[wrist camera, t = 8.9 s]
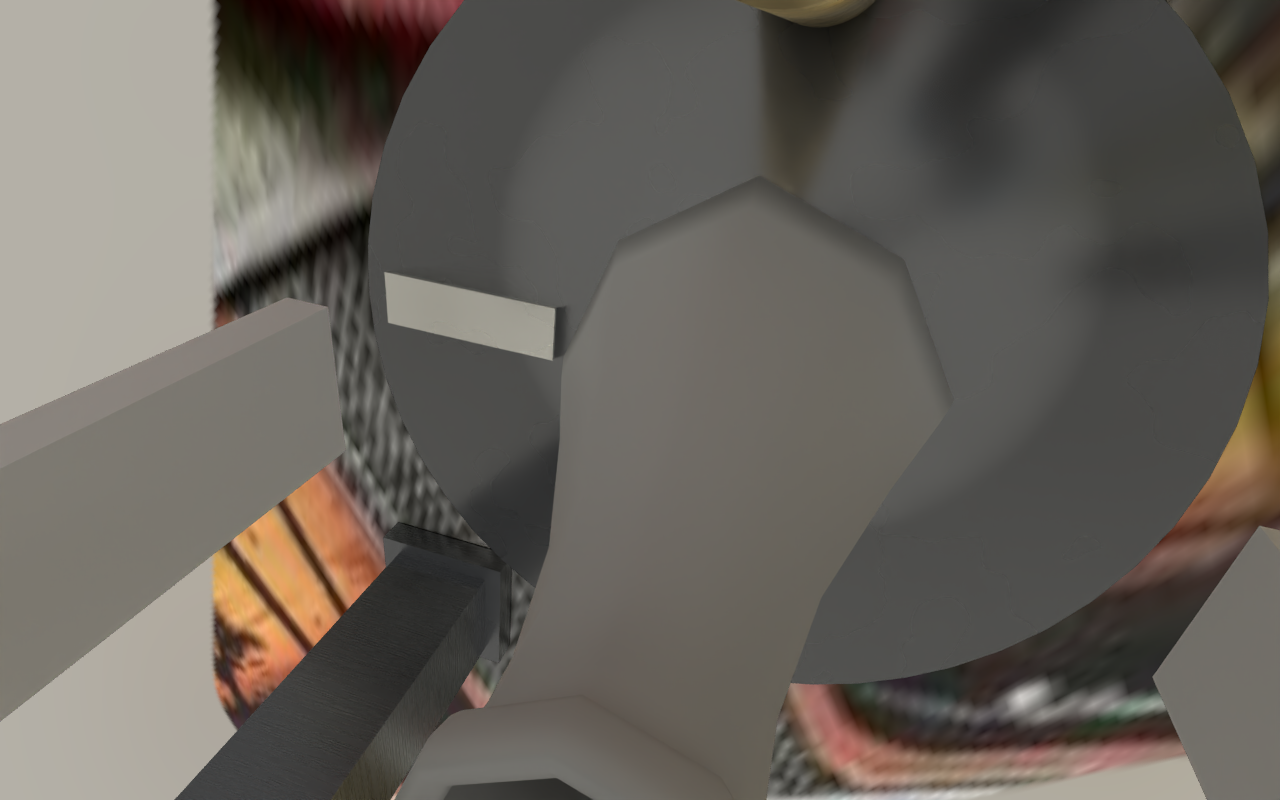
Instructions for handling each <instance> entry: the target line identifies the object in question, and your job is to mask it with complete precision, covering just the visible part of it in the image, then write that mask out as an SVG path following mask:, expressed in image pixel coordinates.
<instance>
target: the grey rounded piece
mask: <svg viewBox="0 0 1280 800" xmlns="http://www.w3.org/2000/svg"><path fill="white" fill-rule="evenodd" d="M758 176H761V177H763V178H765V179H766V180H768V181H770V182H771V183H773V184H775V185H777V186H778V187H780V188H782V189H784V190H785V191H787V192H789V193H790V194H792V195H794V196H796V197H797V198H799V199H801V200H803V201H804V202H806V203H808V204H810V205H811V206H813V207H815V208H816V209H818V210H820V211H822V212H823V213H825V214H827V215H829V216H830V217H832V218H834V219H835V220H837V221H839V222H841V223H842V224H844V225H846V226H848V227H849V228H851V229H853V230H855V231H856V232H858V233H860V234H861V235H863V236H865V237H867V238H868V239H870V240H872V241H874V242H875V243H877V244H879V245H880V246H882V247H884V248H886V249H887V250H889V251H891V252H893V253H894V254H896V255H898V256H900V257H901V258H903V259H904V260H905V263H906V266H907V269H908V272H909V274H910V277H911V280H912V283H913V286H914V289H915V292H916V294H917V297H918V300H919V303H920V306H921V309H922V311H923V314H924V317H925V320H926V323H927V326H928V328H929V331H930V334H931V337H932V340H933V343H934V345H935V348H936V351H937V354H938V357H939V360H940V363H941V365H942V368H943V371H944V374H945V377H946V380H947V382H948V385H949V388H950V391H951V394H952V397H953V399H954V402H953V403H952V405H951V407H950V408H949V410H948V411H947V413H946V414H945V416H944V417H943V419H942V421H941V422H940V424H939V425H938V426H937V428H936V429H935V430H934V432H933V433H932V434H931V436H930V437H929V438H928V440H927V441H926V442H925V444H924V445H923V447H922V448H921V449H920V451H919V452H918V453H917V455H916V456H915V457H914V459H913V460H912V461H911V463H910V464H909V465H908V467H907V468H906V469H905V471H904V472H903V474H902V475H901V476H900V478H899V479H898V480H897V482H896V483H895V484H894V486H893V487H892V488H891V490H890V491H889V493H888V495H887V496H886V498H885V499H884V501H883V502H882V504H881V505H880V507H879V509H878V510H877V512H876V513H875V515H874V516H873V518H872V519H871V521H870V523H869V524H868V526H867V527H866V529H865V530H864V532H863V533H862V535H861V537H860V538H859V540H858V541H857V543H856V544H855V546H854V547H853V549H852V551H851V552H850V554H849V555H848V557H847V558H846V560H845V561H844V563H843V565H842V566H841V568H840V569H839V571H838V572H837V574H836V575H835V577H834V579H833V580H832V582H831V583H830V585H829V586H828V588H827V589H826V591H825V593H824V594H823V596H822V597H821V600H820V602H819V605H818V608H817V611H816V614H815V616H814V619H813V622H812V625H811V627H810V630H809V633H808V636H807V638H806V641H805V644H804V647H803V649H802V652H801V655H800V658H799V661H798V663H797V666H796V669H795V672H794V674H793V677H792V680H791V683H799V684H852V683H865V682H874V681H882V680H890V679H898V678H906V677H910V676H915V675H919V674H924V673H928V672H933V671H937V670H942V669H946V668H950V667H954V666H957V665H960V664H963V663H966V662H969V661H972V660H975V659H978V658H981V657H984V656H987V655H990V654H993V653H996V652H999V651H1001V650H1003V649H1005V648H1008V647H1010V646H1012V645H1014V644H1016V643H1018V642H1020V641H1023V640H1025V639H1027V638H1029V637H1031V636H1033V635H1035V634H1038V633H1040V632H1042V631H1044V630H1046V629H1048V628H1050V627H1051V626H1053V625H1054V624H1056V623H1058V622H1059V621H1061V620H1063V619H1064V618H1066V617H1067V616H1069V615H1071V614H1072V613H1074V612H1076V611H1077V610H1079V609H1080V608H1082V607H1084V606H1085V605H1087V604H1089V603H1090V602H1092V601H1093V600H1094V599H1096V598H1097V597H1098V596H1099V595H1101V594H1102V593H1103V592H1104V591H1106V590H1107V589H1108V588H1109V587H1111V586H1112V585H1113V584H1114V583H1116V582H1117V581H1118V580H1119V579H1121V578H1122V577H1123V576H1124V575H1126V574H1127V573H1128V572H1129V571H1131V570H1132V569H1133V568H1135V567H1136V566H1137V565H1138V563H1139V562H1140V561H1141V560H1142V559H1143V558H1144V557H1145V556H1146V555H1147V554H1148V553H1149V552H1150V551H1151V550H1152V549H1153V548H1154V547H1155V546H1156V545H1157V544H1158V543H1159V542H1160V541H1161V540H1162V539H1163V538H1164V537H1165V535H1166V534H1167V533H1168V532H1169V531H1170V530H1171V529H1172V528H1173V527H1174V526H1175V525H1176V523H1177V522H1178V521H1179V519H1180V518H1181V517H1182V515H1183V514H1184V512H1185V511H1186V510H1187V508H1188V507H1189V506H1190V504H1191V503H1192V501H1193V500H1194V499H1195V497H1196V496H1197V495H1198V493H1199V492H1200V490H1201V489H1202V488H1203V486H1204V485H1205V484H1206V482H1207V481H1208V479H1209V478H1210V476H1211V474H1212V472H1213V470H1214V468H1215V466H1216V465H1217V463H1218V461H1219V459H1220V457H1221V455H1222V453H1223V451H1224V449H1225V447H1226V445H1227V444H1228V442H1229V440H1230V438H1231V436H1232V434H1233V432H1234V430H1235V428H1236V426H1237V424H1238V421H1239V418H1240V415H1241V413H1242V410H1243V407H1244V404H1245V401H1246V398H1247V395H1248V392H1249V389H1250V386H1251V383H1252V380H1253V377H1254V374H1255V371H1256V368H1257V365H1258V360H1259V354H1260V348H1261V342H1262V336H1263V330H1264V324H1265V318H1266V312H1267V306H1268V229H1267V224H1266V218H1265V213H1264V208H1263V202H1262V197H1261V191H1260V186H1259V181H1258V175H1257V170H1256V164H1255V161H1254V158H1253V155H1252V153H1251V150H1250V147H1249V145H1248V142H1247V140H1246V137H1245V134H1244V132H1243V129H1242V126H1241V124H1240V121H1239V118H1238V116H1237V113H1236V111H1235V108H1234V105H1233V103H1232V100H1231V97H1230V95H1229V93H1228V91H1227V89H1226V88H1225V86H1224V84H1223V83H1222V81H1221V79H1220V78H1219V76H1218V74H1217V73H1216V71H1215V69H1214V68H1213V66H1212V64H1211V63H1210V61H1209V60H1208V58H1207V56H1206V55H1205V53H1204V51H1203V50H1202V48H1201V46H1200V45H1199V43H1198V41H1197V40H1196V38H1195V36H1194V35H1193V33H1192V31H1191V30H1190V28H1189V27H1188V26H1187V25H1186V24H1185V22H1184V21H1183V20H1182V19H1181V18H1180V17H1179V16H1178V15H1177V13H1176V12H1175V11H1174V10H1173V9H1172V8H1171V7H1170V6H1169V4H1168V3H1167V2H1166V1H1165V0H464V1H463V3H462V4H461V5H460V7H459V8H458V9H457V11H456V12H455V13H454V15H453V16H452V17H451V19H450V20H449V21H448V23H447V24H446V25H445V27H444V28H443V29H442V31H441V32H440V33H439V35H438V36H437V37H436V39H435V40H434V41H433V43H432V44H431V46H430V47H429V49H428V51H427V53H426V55H425V57H424V58H423V60H422V62H421V64H420V66H419V68H418V70H417V71H416V73H415V75H414V77H413V79H412V81H411V82H410V84H409V86H408V88H407V90H406V92H405V93H404V95H403V98H402V101H401V103H400V106H399V109H398V111H397V114H396V117H395V119H394V122H393V124H392V127H391V130H390V132H389V135H388V138H387V140H386V143H385V146H384V150H383V155H382V159H381V163H380V167H379V172H378V176H377V180H376V185H375V189H374V193H373V201H372V211H371V221H370V231H369V241H368V260H369V294H370V301H371V308H372V315H373V322H374V328H375V335H376V340H377V344H378V348H379V352H380V356H381V359H382V363H383V367H384V371H385V375H386V378H387V382H388V384H389V387H390V390H391V392H392V395H393V397H394V400H395V403H396V405H397V408H398V410H399V413H400V416H401V418H402V421H403V423H404V425H405V427H406V429H407V431H408V433H409V435H410V437H411V439H412V441H413V443H414V445H415V447H416V449H417V450H418V452H419V454H420V456H421V458H422V460H423V462H424V463H425V465H426V466H427V468H428V470H429V471H430V473H431V474H432V476H433V477H434V479H435V480H436V482H437V483H438V485H439V487H440V488H441V490H442V491H443V493H444V494H445V496H446V497H447V498H448V500H449V501H450V502H451V503H452V505H453V506H454V507H455V508H456V510H457V511H458V512H459V513H460V515H461V516H462V517H463V518H464V520H465V521H466V522H467V523H468V525H469V526H470V527H471V528H472V530H473V531H474V532H475V533H476V534H477V535H478V536H479V537H480V538H481V539H482V540H483V541H484V542H485V543H486V544H487V545H488V546H489V547H490V548H491V549H492V550H493V551H494V552H495V553H496V554H497V555H498V556H499V557H500V558H501V559H502V560H503V561H504V562H505V563H506V564H508V565H509V566H510V567H511V568H512V569H513V570H515V571H516V572H517V573H518V574H519V575H520V576H522V577H523V578H524V579H525V580H526V581H528V582H529V583H530V584H531V585H532V586H533V587H535V588H536V585H537V582H538V579H539V576H540V573H541V570H542V567H543V564H544V561H545V558H546V555H547V552H548V549H549V542H550V532H551V522H552V512H553V502H554V492H555V482H556V472H557V462H558V452H559V442H560V409H561V376H562V366H563V357H564V355H565V353H566V351H567V349H568V347H569V344H570V342H571V340H572V338H573V336H574V334H575V332H576V330H577V328H578V325H579V323H580V321H581V319H582V317H583V315H584V313H585V311H586V309H587V307H588V304H589V302H590V300H591V298H592V296H593V294H594V292H595V290H596V288H597V285H598V283H599V281H600V279H601V277H602V275H603V273H604V271H605V269H606V266H607V264H608V262H609V260H610V258H611V256H612V254H613V252H614V250H615V248H616V245H617V243H618V241H619V240H621V239H623V238H625V237H627V236H629V235H632V234H634V233H636V232H638V231H640V230H643V229H645V228H647V227H649V226H651V225H653V224H656V223H658V222H660V221H662V220H664V219H666V218H669V217H671V216H673V215H675V214H677V213H679V212H682V211H684V210H686V209H688V208H690V207H692V206H695V205H697V204H699V203H701V202H703V201H705V200H708V199H710V198H712V197H714V196H716V195H718V194H721V193H723V192H725V191H727V190H729V189H731V188H734V187H736V186H738V185H740V184H742V183H745V182H747V181H749V180H751V179H753V178H755V177H758Z"/></svg>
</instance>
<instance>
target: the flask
mask: <svg viewBox="0 0 1280 800" xmlns="http://www.w3.org/2000/svg"><path fill="white" fill-rule="evenodd" d="M953 402H954V399H953V397H952V394H951V391H950V388H949V385H948V382H947V380H946V377H945V374H944V371H943V368H942V365H941V363H940V360H939V357H938V354H937V351H936V348H935V345H934V343H933V340H932V337H931V334H930V331H929V328H928V326H927V323H926V320H925V317H924V314H923V311H922V309H921V306H920V303H919V300H918V297H917V294H916V292H915V289H914V286H913V283H912V280H911V277H910V274H909V272H908V269H907V266H906V263H905V260H904V259H903V258H901V257H900V256H898V255H896V254H894V253H893V252H891V251H889V250H887V249H886V248H884V247H882V246H880V245H879V244H877V243H875V242H874V241H872V240H870V239H868V238H867V237H865V236H863V235H861V234H860V233H858V232H856V231H855V230H853V229H851V228H849V227H848V226H846V225H844V224H842V223H841V222H839V221H837V220H835V219H834V218H832V217H830V216H829V215H827V214H825V213H823V212H822V211H820V210H818V209H816V208H815V207H813V206H811V205H810V204H808V203H806V202H804V201H803V200H801V199H799V198H797V197H796V196H794V195H792V194H790V193H789V192H787V191H785V190H784V189H782V188H780V187H778V186H777V185H775V184H773V183H771V182H770V181H768V180H766V179H765V178H763V177H761V176H758V177H755V178H753V179H751V180H749V181H747V182H745V183H742V184H740V185H738V186H736V187H734V188H731V189H729V190H727V191H725V192H723V193H721V194H718V195H716V196H714V197H712V198H710V199H708V200H705V201H703V202H701V203H699V204H697V205H695V206H692V207H690V208H688V209H686V210H684V211H682V212H679V213H677V214H675V215H673V216H671V217H669V218H666V219H664V220H662V221H660V222H658V223H656V224H653V225H651V226H649V227H647V228H645V229H643V230H640V231H638V232H636V233H634V234H632V235H629V236H627V237H625V238H623V239H621V240H619V241H618V243H617V245H616V248H615V250H614V252H613V254H612V256H611V258H610V260H609V262H608V264H607V266H606V269H605V271H604V273H603V275H602V277H601V279H600V281H599V283H598V285H597V288H596V290H595V292H594V294H593V296H592V298H591V300H590V302H589V304H588V307H587V309H586V311H585V313H584V315H583V317H582V319H581V321H580V323H579V325H578V328H577V330H576V332H575V334H574V336H573V338H572V340H571V342H570V344H569V347H568V349H567V351H566V353H565V355H564V357H563V366H562V376H561V409H560V442H559V452H558V462H557V472H556V482H555V492H554V502H553V512H552V522H551V532H550V542H549V549H548V552H547V555H546V558H545V561H544V564H543V567H542V570H541V573H540V576H539V579H538V582H537V585H536V588H535V591H534V594H533V597H532V600H531V603H530V606H529V609H528V612H527V615H526V618H525V621H524V624H523V627H522V630H521V633H520V636H519V639H518V642H517V645H516V648H515V651H514V654H513V657H512V659H511V661H510V663H509V664H508V666H507V668H506V670H505V672H504V674H503V675H502V677H501V679H500V681H499V683H498V685H497V686H496V688H495V690H494V692H493V694H492V695H491V697H490V699H489V701H488V703H487V704H486V705H485V707H484V708H477V709H469V710H462V711H460V712H457V713H455V714H453V715H450V716H449V717H448V718H447V719H446V720H445V721H444V722H443V723H442V724H441V725H440V726H439V727H438V728H437V729H436V730H435V731H434V732H433V734H432V735H431V736H430V737H429V738H428V739H427V741H426V743H425V745H424V747H423V749H422V750H421V752H420V754H419V756H418V758H417V759H416V761H415V763H414V765H413V767H412V769H411V770H410V772H409V774H408V776H407V778H406V780H405V781H404V783H403V785H402V787H401V789H400V791H399V792H398V794H397V796H396V798H395V800H766V798H767V791H768V784H769V776H770V769H771V762H772V755H773V748H774V741H775V734H776V727H777V720H778V716H779V713H780V710H781V708H782V705H783V702H784V699H785V696H786V694H787V691H788V688H789V685H790V683H791V680H792V677H793V674H794V672H795V669H796V666H797V663H798V661H799V658H800V655H801V652H802V649H803V647H804V644H805V641H806V638H807V636H808V633H809V630H810V627H811V625H812V622H813V619H814V616H815V614H816V611H817V608H818V605H819V602H820V600H821V597H822V596H823V594H824V593H825V591H826V589H827V588H828V586H829V585H830V583H831V582H832V580H833V579H834V577H835V575H836V574H837V572H838V571H839V569H840V568H841V566H842V565H843V563H844V561H845V560H846V558H847V557H848V555H849V554H850V552H851V551H852V549H853V547H854V546H855V544H856V543H857V541H858V540H859V538H860V537H861V535H862V533H863V532H864V530H865V529H866V527H867V526H868V524H869V523H870V521H871V519H872V518H873V516H874V515H875V513H876V512H877V510H878V509H879V507H880V505H881V504H882V502H883V501H884V499H885V498H886V496H887V495H888V493H889V491H890V490H891V488H892V487H893V486H894V484H895V483H896V482H897V480H898V479H899V478H900V476H901V475H902V474H903V472H904V471H905V469H906V468H907V467H908V465H909V464H910V463H911V461H912V460H913V459H914V457H915V456H916V455H917V453H918V452H919V451H920V449H921V448H922V447H923V445H924V444H925V442H926V441H927V440H928V438H929V437H930V436H931V434H932V433H933V432H934V430H935V429H936V428H937V426H938V425H939V424H940V422H941V421H942V419H943V417H944V416H945V414H946V413H947V411H948V410H949V408H950V407H951V405H952V403H953Z"/></svg>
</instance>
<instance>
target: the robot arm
mask: <svg viewBox="0 0 1280 800" xmlns="http://www.w3.org/2000/svg"><path fill="white" fill-rule="evenodd" d="M345 451H346V448H345V440H344V432H343V424H342V416H341V408H340V400H339V392H338V384H337V376H336V368H335V359H334V351H333V343H332V335H331V327H330V319H329V311H328V307H326V306H321V305H317V304H313V303H309V302H304V301H300V300H296V299H292V298H285V299H283V300H280V301H278V302H276V303H273V304H271V305H269V306H267V307H264V308H262V309H260V310H258V311H255V312H253V313H251V314H249V315H246V316H244V317H242V318H240V319H237V320H235V321H233V322H230V323H228V324H226V325H224V326H221V327H219V328H217V329H215V330H212V331H210V332H208V333H206V334H203V335H201V336H199V337H197V338H194V339H192V340H190V341H188V342H185V343H183V344H181V345H179V346H176V347H174V348H172V349H169V350H167V351H165V352H163V353H160V354H158V355H156V356H154V357H152V358H149V359H147V360H145V361H142V362H140V363H138V364H135V365H133V366H131V367H129V368H127V369H124V370H122V371H120V372H117V373H115V374H113V375H111V376H108V377H106V378H104V379H102V380H99V381H97V382H95V383H92V384H90V385H88V386H86V387H83V388H81V389H79V390H77V391H74V392H72V393H70V394H68V395H65V396H63V397H61V398H59V399H56V400H54V401H52V402H50V403H47V404H45V405H43V406H41V407H38V408H36V409H34V410H31V411H29V412H27V413H25V414H22V415H20V416H18V417H16V418H13V419H11V420H9V421H7V422H4V423H2V424H0V721H1V720H3V719H4V718H5V717H6V716H8V715H9V714H10V713H12V712H13V711H14V710H15V709H17V708H18V707H19V706H21V705H22V704H23V703H24V702H26V701H27V700H28V699H29V698H31V697H32V696H33V695H35V694H36V693H37V692H38V691H40V690H41V689H42V688H44V687H45V686H46V685H47V684H49V683H50V682H51V681H52V680H54V679H55V678H56V677H58V676H59V675H60V674H61V673H63V672H64V671H65V670H66V669H67V668H69V667H70V666H72V665H73V664H74V663H75V662H76V661H78V660H79V659H80V658H82V657H83V656H84V655H86V654H87V653H88V652H89V651H91V650H92V649H93V648H95V647H96V646H97V645H98V644H100V643H101V642H102V641H103V640H105V639H106V638H107V637H109V636H110V635H111V634H112V633H114V632H115V631H116V630H117V629H119V628H120V627H121V626H123V625H124V624H125V623H126V622H128V621H129V620H130V619H132V618H133V617H134V616H135V615H137V614H138V613H139V612H140V611H142V610H143V609H144V608H146V607H147V606H148V605H149V604H151V603H152V602H153V601H154V600H156V599H157V598H158V597H160V596H161V595H162V594H163V593H165V592H166V591H167V590H168V589H170V588H171V587H172V586H174V585H175V584H176V583H177V582H179V581H180V580H181V579H182V578H184V577H185V576H186V575H188V574H189V573H190V572H192V571H193V570H194V569H195V568H197V567H198V566H199V565H200V564H202V563H203V562H204V561H205V560H207V559H208V558H209V557H211V556H212V555H213V554H214V553H216V552H217V551H218V550H220V549H221V548H222V547H223V546H225V545H226V544H227V543H228V542H230V541H231V540H232V539H234V538H235V537H236V536H237V535H239V534H240V533H241V532H243V531H244V530H245V529H246V528H248V527H249V526H250V525H251V524H253V523H254V522H255V521H257V520H258V519H259V518H260V517H262V516H263V515H264V514H265V513H267V512H268V511H269V510H271V509H272V508H273V507H274V506H276V505H277V504H278V503H280V502H281V501H282V500H283V499H285V498H286V497H287V496H288V495H290V494H291V493H292V492H294V491H295V490H296V489H297V488H299V487H300V486H301V485H302V484H304V483H305V482H306V481H308V480H309V479H310V478H311V477H313V476H314V475H315V474H317V473H318V472H319V471H320V470H322V469H323V468H324V467H325V466H327V465H328V464H329V463H331V462H332V461H333V460H334V459H336V458H337V457H338V456H339V455H341V454H342V453H343V452H345ZM1153 680H1154V682H1155V684H1156V686H1157V689H1158V691H1159V693H1160V695H1161V698H1162V700H1163V702H1164V704H1165V707H1166V709H1167V711H1168V713H1169V716H1170V718H1171V720H1172V722H1173V725H1174V727H1175V729H1176V731H1177V734H1178V736H1179V738H1180V740H1181V743H1182V745H1183V747H1184V749H1185V752H1186V754H1187V756H1188V758H1189V761H1190V763H1191V765H1192V767H1193V769H1194V772H1195V774H1196V776H1197V778H1198V781H1199V783H1200V785H1201V787H1202V790H1203V792H1204V794H1205V797H1206V799H1207V800H1280V530H1275V529H1271V528H1267V527H1263V526H1259V527H1258V528H1257V530H1256V531H1255V533H1254V534H1253V535H1252V537H1251V538H1250V540H1249V541H1248V542H1247V544H1246V545H1245V547H1244V548H1243V550H1242V551H1241V552H1240V554H1239V555H1238V557H1237V558H1236V559H1235V561H1234V562H1233V564H1232V565H1231V567H1230V568H1229V569H1228V571H1227V572H1226V574H1225V575H1224V577H1223V578H1222V579H1221V581H1220V582H1219V584H1218V585H1217V586H1216V588H1215V589H1214V591H1213V592H1212V594H1211V595H1210V596H1209V598H1208V599H1207V601H1206V602H1205V603H1204V605H1203V606H1202V608H1201V609H1200V611H1199V612H1198V613H1197V615H1196V616H1195V618H1194V619H1193V620H1192V622H1191V623H1190V625H1189V626H1188V628H1187V629H1186V630H1185V632H1184V633H1183V635H1182V636H1181V637H1180V639H1179V640H1178V642H1177V643H1176V645H1175V646H1174V647H1173V649H1172V650H1171V652H1170V653H1169V654H1168V656H1167V657H1166V659H1165V660H1164V662H1163V663H1162V664H1161V666H1160V667H1159V669H1158V670H1157V671H1156V673H1155V674H1154V676H1153Z"/></svg>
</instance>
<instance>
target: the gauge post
mask: <svg viewBox="0 0 1280 800" xmlns="http://www.w3.org/2000/svg"><path fill="white" fill-rule="evenodd" d="M383 540H384V551H385V562H386V568H385V569H384V570H383V571H382V573H381V574H380V575H379V576H378V577H377V578H376V579H375V580H374V581H373V582H372V584H371V585H370V586H369V587H368V588H367V589H366V590H365V591H364V592H363V593H362V595H361V596H360V597H359V598H358V599H357V600H356V601H355V602H354V603H353V604H352V605H351V607H350V608H349V609H348V610H347V611H346V612H345V613H344V614H343V615H342V616H341V618H340V619H339V620H338V621H337V622H336V623H335V624H334V625H333V626H332V627H331V629H330V630H329V631H328V632H327V633H326V634H325V635H324V636H323V637H322V638H321V640H320V641H319V642H318V643H317V644H316V645H315V646H314V647H313V648H312V649H311V651H310V652H309V653H308V654H307V655H306V656H305V657H304V658H303V659H302V660H301V662H300V663H299V664H298V665H297V666H296V667H295V668H294V669H293V670H292V671H291V672H290V674H289V675H288V676H287V677H286V678H285V679H284V680H283V681H282V682H281V683H280V685H279V686H278V687H277V688H276V689H275V690H274V691H273V692H272V693H271V694H270V696H269V697H268V698H267V699H266V700H265V701H264V702H263V703H262V704H261V705H260V707H259V708H258V709H257V710H256V711H255V712H254V713H253V714H252V715H251V716H250V718H249V719H248V720H247V721H246V722H245V723H244V724H243V725H242V726H241V727H240V729H239V730H238V731H237V732H236V733H235V734H234V735H233V736H232V737H231V738H230V740H229V741H228V742H227V743H226V744H225V745H224V746H223V747H222V748H221V749H220V750H219V752H218V753H217V754H216V755H215V756H214V757H213V758H212V759H211V760H210V761H209V763H208V764H207V765H206V766H205V767H204V768H203V769H202V770H201V771H200V772H199V774H198V775H197V776H196V777H195V778H194V779H193V780H192V781H191V782H190V783H189V785H188V786H187V787H186V788H185V789H184V790H183V791H182V792H181V793H180V794H179V796H178V797H177V798H176V799H175V800H391V798H392V796H393V795H394V793H395V792H396V790H397V788H398V787H399V785H400V784H401V782H402V780H403V779H404V777H405V776H406V774H407V772H408V771H409V769H410V768H411V766H412V764H413V763H414V761H415V760H416V758H417V756H418V755H419V753H420V752H421V750H422V748H423V747H424V745H425V743H426V741H427V739H428V738H429V737H430V735H431V734H432V732H433V731H434V729H435V727H436V726H437V724H438V723H439V721H440V719H441V718H442V716H443V715H444V713H445V711H446V710H447V708H448V707H449V705H450V703H451V702H452V700H453V699H454V697H455V695H456V694H457V692H458V691H459V689H460V687H461V686H462V684H463V683H464V681H465V679H466V678H467V676H468V675H469V673H470V671H471V670H472V668H473V667H474V665H475V663H476V662H477V660H478V659H479V657H482V658H485V659H488V660H491V661H494V662H497V663H499V662H500V660H501V658H502V657H503V655H504V653H505V652H506V650H507V648H508V647H509V641H510V602H511V567H510V566H509V565H508V564H506V563H505V562H504V561H503V560H502V559H501V558H500V557H499V556H498V555H497V554H496V553H495V552H494V551H493V550H491V549H487V548H484V547H480V546H477V545H474V544H470V543H467V542H463V541H460V540H456V539H453V538H450V537H446V536H443V535H439V534H436V533H432V532H429V531H426V530H422V529H419V528H415V527H412V526H408V525H405V524H402V523H397V524H396V525H395V526H394V527H393V528H392V529H391V530H390V531H389V532H388V533H387V534H386V535H385V536H384V537H383Z"/></svg>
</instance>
